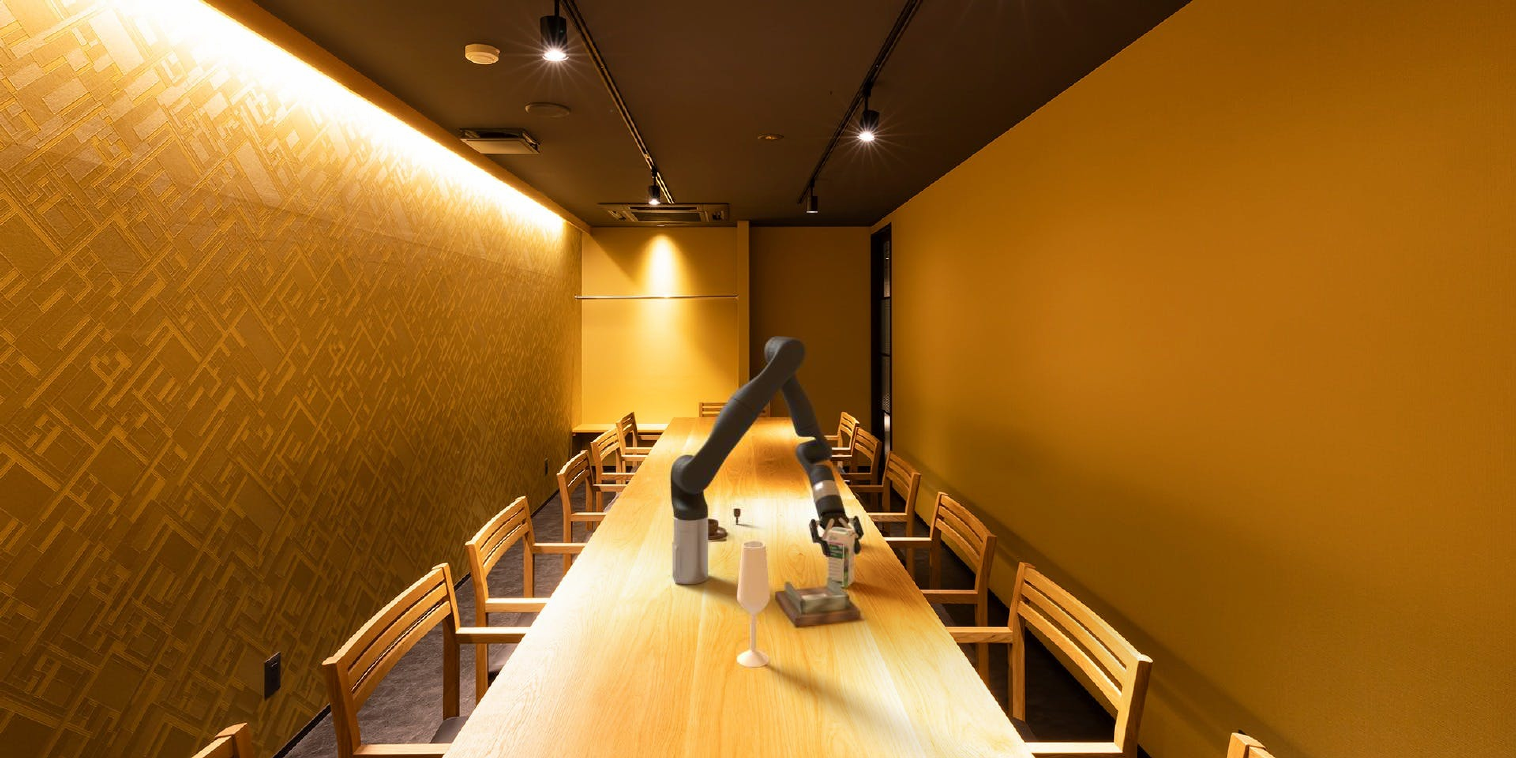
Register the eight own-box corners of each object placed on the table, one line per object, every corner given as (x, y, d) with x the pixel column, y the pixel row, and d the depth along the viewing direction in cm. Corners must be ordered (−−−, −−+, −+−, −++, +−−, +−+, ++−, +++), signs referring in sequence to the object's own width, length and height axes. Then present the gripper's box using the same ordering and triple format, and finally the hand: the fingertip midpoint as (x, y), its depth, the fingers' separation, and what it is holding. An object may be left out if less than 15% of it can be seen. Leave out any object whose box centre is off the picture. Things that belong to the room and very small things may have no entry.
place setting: (683, 530, 227) (682, 513, 227) (738, 524, 234) (738, 507, 234) (697, 546, 211) (697, 527, 210) (757, 538, 218) (757, 521, 218)
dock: (795, 626, 153) (795, 605, 153) (775, 599, 168) (775, 579, 168) (860, 619, 157) (860, 598, 157) (835, 592, 173) (835, 573, 172)
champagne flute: (768, 650, 142) (769, 539, 140) (770, 667, 135) (771, 549, 133) (736, 651, 141) (737, 539, 140) (736, 667, 135) (737, 549, 133)
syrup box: (826, 584, 178) (827, 530, 177) (834, 577, 183) (835, 525, 182) (846, 588, 176) (847, 534, 174) (854, 581, 181) (855, 528, 180)
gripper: (806, 495, 183) (821, 550, 173) (855, 491, 187) (872, 545, 177) (800, 509, 189) (814, 563, 178) (847, 505, 192) (864, 558, 182)
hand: (843, 554), depth 178 cm, fingers closed on syrup box, 8 cm apart
